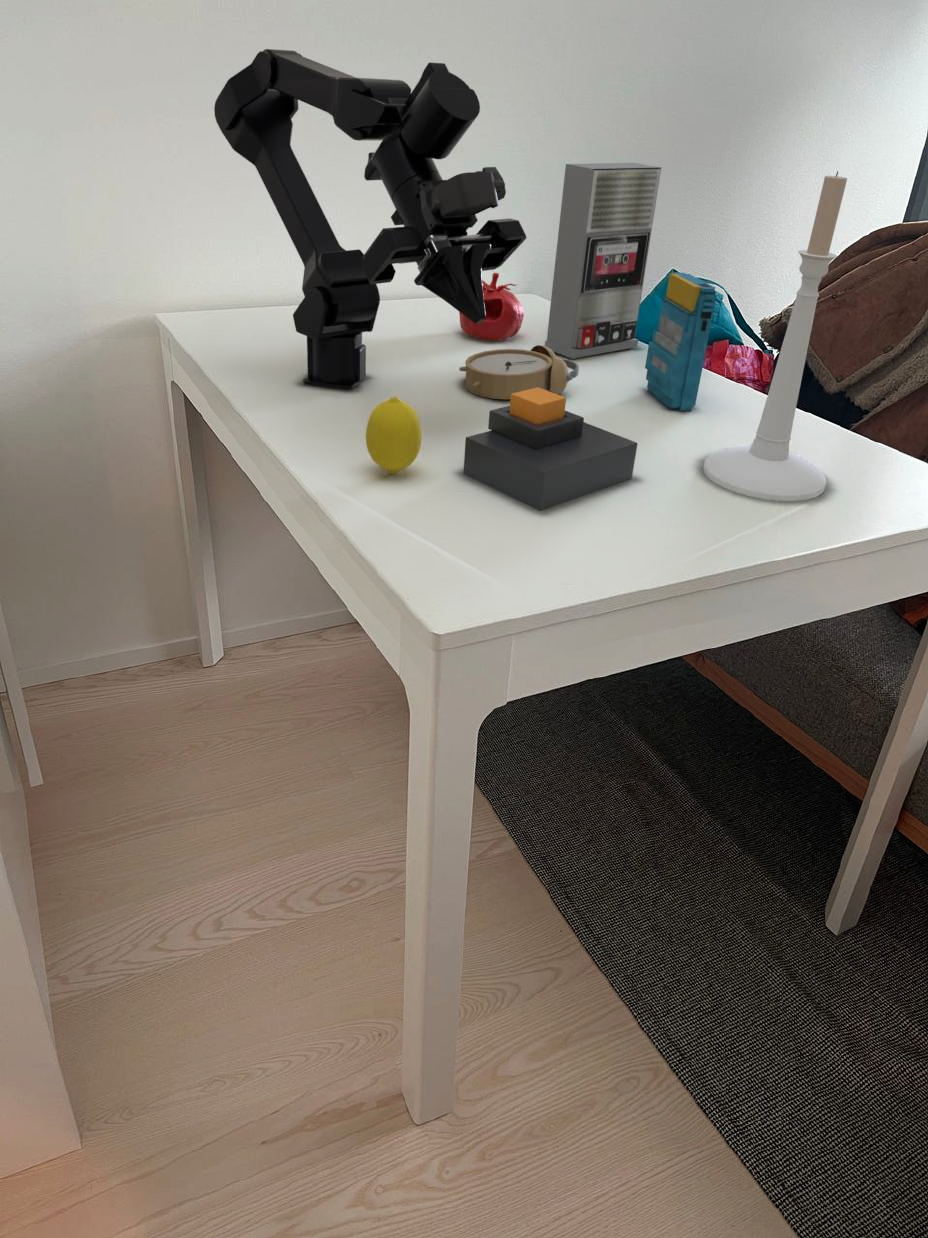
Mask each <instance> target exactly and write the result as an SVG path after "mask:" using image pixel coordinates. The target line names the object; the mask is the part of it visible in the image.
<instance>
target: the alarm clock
mask: <svg viewBox="0 0 928 1238" xmlns="http://www.w3.org/2000/svg"><path fill="white" fill-rule="evenodd" d="M464 363H465V366H460V367H459V371H461V372H465V387H466V389H467V390H468V391H469V392H470V393H472V394H474V395H476V396H479V397H484V398H487V399H488V398H489V399H495V400H511V394H512V393H516V392H521V391H525V390H529V389H533V388H537V387H538V388H541V389H544V390H547V391H549V392H552V393H555V394H557V395H560V394H561V393H562V394H563V392H564V391H565V390H566V387H567V386H568V383H569V382H570V381H573V379H575V378H576V377H578V376H579V370H580V369H579V368H580V367H579V364H578V363H577V362H575V361H573V360H571V359H567V358H566V359H565V358H560V357H557V355H556V354H555V352H554V351H552V350H551V349H550V348H549V347H547V346H545V345H541V344H538V345H534V346H533V347H532V348H531V349H530V350H528V349H519V348H517V349H516V348H502V349H501V348H499V349H498V348H497V349H491V350H485V351H480V352H477V353H474V354H471V355H470V356H469V357H467V358H466V360H465V362H464ZM569 369H571V371H569Z"/></svg>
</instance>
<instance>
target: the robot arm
mask: <svg viewBox="0 0 928 1238" xmlns="http://www.w3.org/2000/svg"><path fill="white" fill-rule="evenodd" d="M479 100H480V99H479V98H478V95H477V94H476V91H475V90H474V89H473V88H471V87H470V86H469V85H468V84H467V83H466V82H465V81H464V80H463V79H462V78H460V76H457V75H456V74H454V73H452V72H450V71H449V69H448V67H447V65H446V63H445V62H428V63H427V64H426V66H425V68H424V70H423V71H422V74H421V76H420V77H419V79H418V81H417V83H416V85H415V86H414V88H413V89H412V88H411V86H409V84H408V83H407V82H405V81H404V80H400V79H387V78H369V77H356V76H353V75H350V74H348V73H345V72H343V71H340V70H338V69H335V68H333V67H331V66H328V65H325V64H323V63H320V62H318V61H316V60H312V59H310V58H307V57H305V56H303V55H302V54H301V53H299V52H297V51H295V50H289V49H288V50H287V49H272V48H265V49H263V50H260V51H258V53H257V54H256V55H255V57H254V58H253V60H252V61H251V63H250V64H249V65H247V66H246V67H244V68H243V69H241V70H240V71H238V72H237V73H235V74H234V75H233V76H231V77H230V78H228V80H227V81H226V83H225V84H224V86H223V87H222V89H221V91H220V93H219V94H218V96H217V97H216V99H215V102H214V107H213V110H214V118H215V121H216V122H215V123H216V124H217V127H218V128H219V130H220V132H221V133H222V135H223V136H224V138H225V140H226V141H227V142H228V144H229V145H230V147H231V149H232V150H233V151H234V152H235V153H237V154H238V155H239V156H241V157H242V158H243V159H245V160H246V161H248V162H249V163H251V164H252V165H253V166H254V167H255V169H256V171H257V173H258V175H259V178H260V180H261V182H262V183H263V185H264V187H265V189H266V191H267V193H268V195H269V197H270V199H271V202H272V203H273V205H274V207H275V209H276V211H277V214H278V215H279V218H280V219H281V221H282V223H283V226H284V227H285V229H286V232H287V233H288V236H289V238H290V239H291V242H292V244H293V246H294V248H295V250H296V252H297V255H298V256H299V258H300V260H301V262H302V264H303V267H304V268H303V276H302V277H303V278H302V285H301V290H302V293H303V297H304V298H303V299H302V301H301V302H300V303H299V305H298V306H297V308H296V309H295V310H294V312H293V313H292V318H293V322H294V323H293V324H294V327H295V332H296V333H298V334H300V335H303V336H305V337H306V364H307V375H306V376H305V377H304V378H303V379H302V384H304V385H310V386H317V387H325V388H333V389H341V390H348V391H350V390H353V389H354V388H355V387H356V386H357V385H359V383H361V382H362V381H363V380H364V379H365V378H366V377H367V346H366V344H365V343H363V333H371V332H373V329H374V326H375V322H376V318H377V315H378V311H379V307H380V302H381V296H380V291H379V287H378V284H380V285H381V284H386V283H391V282H393V280H394V278H395V275H396V269H395V267H394V265H395V264H400V265H402V264H410V263H416V265H417V269H418V272H419V274H417V275H416V277H415V278H414V279H413V282H414V284H415V286H421V287H424V288H425V289H426V290H427V291H430V292H431V293H432V294H434V295H436V296H437V297H438V298H439V299H442V300H443V301H444V302H445V303H447V304H449V305H450V306H451V307H452V308H453V309H454V310H457V311H458V313H459V312H460V313H462V314H463V315H464V316H466V317H467V318H468V319H469V320H471V321H472V322H473V323H475V324H478V323H482V322H483V321H484V320H485V318H486V314H485V305H484V297H483V288H482V285H483V283H482V280H483V279H482V277H483V275H482V272H484V271H485V272H486V271H493V270H496V269H498V268H500V267H501V266H503V264H504V263H505V262H506V261H507V260H509V258H510V257H511V256H512V254H514V252H515V251H516V250H517V249H519V247H520V246H521V245H522V244H523V243H524V242H525V241H526V240H527V234H526V232H525V231H524V228H523V227H522V223H521V222H520V220H518V219H514V218H499V219H497V218H496V219H488V220H487V221H486V222H485V223H484V224H483V226H482V227H481V228H480V229H479V230H478V231H477V232H476V234H468V230H469V229H471V228H473V227H474V226H475V225H476V223H477V222H478V221H479V220H478V218H477V215H478V214H479V213H482V212H484V211H486V210H488V209H490V208H491V209H496V208H497V207H498V206H499V205H500V203H499V201H501V200H503V199H505V197H506V194H507V190H506V183H505V180H504V178H503V176H502V175H501V173H500V172H499V170H498V168H497V167H496V166H484V167H482V170H476V171H469V172H462V173H458V174H455V175H453V176H452V177H449V178H448V179H443V177H442V175H441V174H440V172H439V169H438V168H437V167H438V166H436V163H435V161H434V160H443V159H446V158H447V157H449V155H450V154H451V152H452V151H453V150H454V149H455V148H456V146H457V145H458V143H459V142H460V141H461V139H462V138H463V136H464V135H465V134H466V132H467V131H468V130H469V129H470V127H471V126H472V125H473V123H474V122H475V121H476V119H477V118H478V116H479V114H480V112H481V111H480V110H481V105H480V101H479ZM299 101H300V102H302V103H304V104H306V105H309V106H312V107H314V108H316V109H317V110H321V111H323V112H325V113H327V114H328V115H330V116H331V117H332V119H333V123H334V126H336V128H338V130H340V131H341V132H343V133H344V134H345V135H347V136H348V137H349V138H351V139H352V140H353V141H359V142H360V141H365V142H366V141H381V142H380V143H379V145H378V147H377V148H376V149H375V151H373V152H369V153H368V156H367V157H368V158H367V163H366V166H365V167H364V176H363V178H364V180H365V181H382V184H383V186H384V188H385V190H386V192H387V194H388V196H389V198H390V200H391V202H392V205H393V207H394V209H395V211H393V213H392V215H391V216H390V219H391V221H392V223H393V226H395V227H383V228H382V229H381V231H380V232H379V233H378V235H377V236H376V237H375V238H374V240H373V241H372V243H371V245H369V247H368V248H367V250H366V251H365V252H364V253H363V251H362V250H361V249H359V248H358V249H348V250H347V249H345V248H344V247H342V246H341V245H340V243H339V241H338V239H337V237H336V234H335V232H334V231H333V229H332V227H331V224H330V223H329V220H328V219H327V216H326V214H325V213H324V210H323V209H322V207H321V205H320V203H319V201H318V198H317V196H316V195H315V193H314V191H313V189H312V186H311V185H310V182H309V180H308V179H307V178H308V177H306V174H305V173H304V170H303V169H302V166H301V165H300V162H299V160H298V158H297V156H296V155H295V153H294V150H293V149H292V145H291V143H292V136H293V126H294V123H293V120H292V119H293V118H294V116H295V115H296V113H298V111H299Z"/></svg>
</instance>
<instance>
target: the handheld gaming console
mask: <svg viewBox="0 0 928 1238" xmlns="http://www.w3.org/2000/svg"><path fill="white" fill-rule="evenodd" d="M716 292H717V291H716V287H715V286H713V285H711V284H710V283H707V282H706V281H704V280H702V279H700V278H698V277H696V276H694V275H692V274H690V273H686V272H682V271H681V272H677V271H676V272H675V271H674V272H672V273H669V276H668V283H667V288H666V295H665V297H663V298H662V302H661V308H660V314H659V315H658V318H657V324H656V329H654V330H653V332H652V339H651V341H649V342H648V346H647V353H646V359H645V365H644V369H646V375H645V380H646V381H647V385H646V388H647V392H648V393H650V394H651V396H653V397H654V398H655V399H656V400H657V401H659V402H660V403H661V404H662V405H664V406H665V407H666V408H667V409H668V410H671V411H673V410H675V411H676V410H678V411H679V412H680V413H681V412H684V413H685V412H692V410H693V408H694V406H696V404H697V400H698V399H697V398H698V393H699V388H700V383H701V378H702V372H703V368H704V362H705V357H706V354H707V353H706V351H707V348H708V347H707V346H708V342H709V337H710V333H711V326H712V321H713V315H714V310H715V304H716V300H717V293H716Z"/></svg>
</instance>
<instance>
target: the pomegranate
mask: <svg viewBox="0 0 928 1238" xmlns="http://www.w3.org/2000/svg"><path fill="white" fill-rule="evenodd" d="M491 276H492V277H491V278H492V279H491V281H490V283H489V284H488V283H487V282H486V281H484V280H483V279H482V288H483V297H484V305H485V314H486V318H485V320H484V321H483V322H482V323H478V324H475V323H473V322H472V321H471V320H469V319H468V318H467V317H466V316H464V315H463V314H462V313H460V312H459V311H458V313H459V326H460V328H461V330H462V331H463V332H464V333H465V334H466V335H467V336H470V337H474V338H478V339H480V340H485V341H506V340H508V339H510V338H512V337H514V336H515V335H516V334H517V333H519V331H520V329H521V328H522V325H523V321H524V316H525V314H524V313H525V311H524V308H523V305H522V304H521V302H520V301H519V299H518V297H517V296H516V295H515V294H514V293H512V292H511V288H509V287H508V286H514V287H516V286H517V284H513V283H507V284H501V285H498V279H499V277H500V273H499V272H493V273H492V275H491Z"/></svg>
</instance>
